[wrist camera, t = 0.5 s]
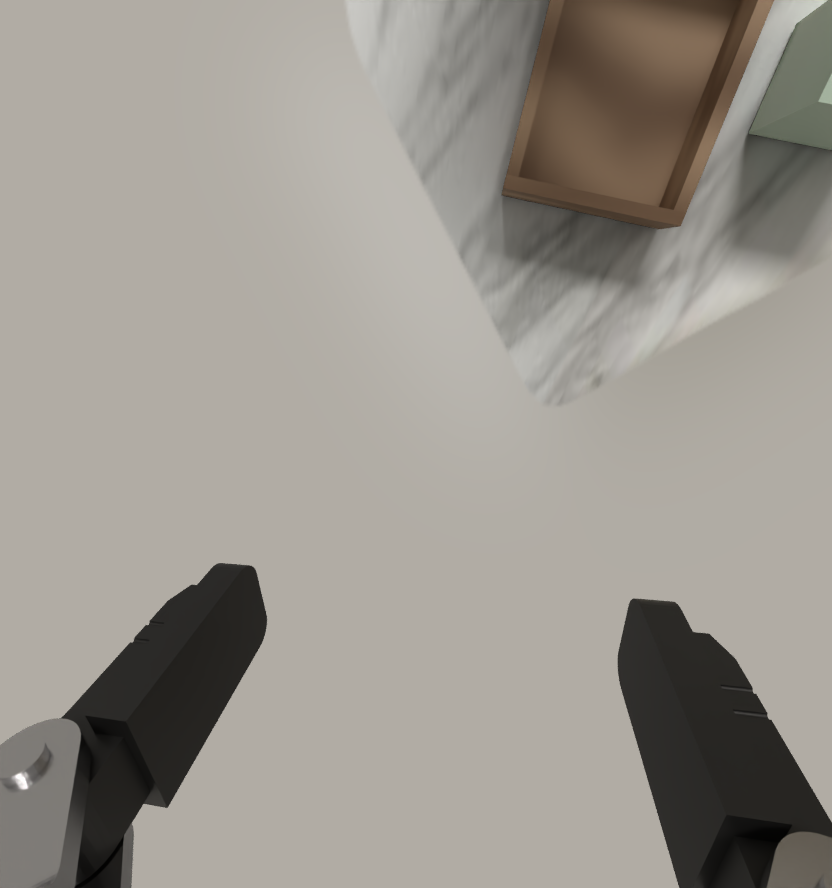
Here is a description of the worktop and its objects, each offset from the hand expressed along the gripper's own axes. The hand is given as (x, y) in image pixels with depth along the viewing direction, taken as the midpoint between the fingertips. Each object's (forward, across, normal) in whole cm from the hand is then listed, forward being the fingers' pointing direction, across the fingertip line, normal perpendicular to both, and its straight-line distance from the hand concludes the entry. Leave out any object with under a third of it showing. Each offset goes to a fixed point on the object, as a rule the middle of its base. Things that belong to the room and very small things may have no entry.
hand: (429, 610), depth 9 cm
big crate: (+27, -8, -15) cm, 32 cm away
